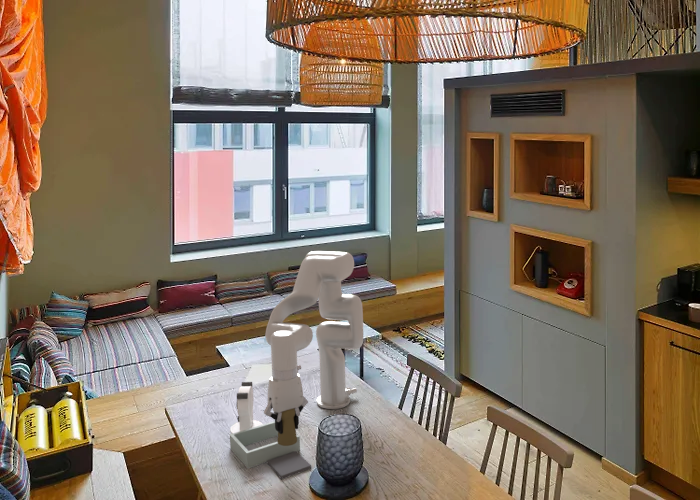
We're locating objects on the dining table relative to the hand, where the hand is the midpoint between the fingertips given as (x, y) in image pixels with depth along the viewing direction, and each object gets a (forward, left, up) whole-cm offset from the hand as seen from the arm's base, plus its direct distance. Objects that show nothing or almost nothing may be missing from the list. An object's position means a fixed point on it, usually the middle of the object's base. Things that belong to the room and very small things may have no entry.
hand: (287, 429), depth 175 cm
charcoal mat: (0, 0, -12) cm, 12 cm away
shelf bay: (+2, -13, -12) cm, 18 cm away
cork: (0, 0, -4) cm, 4 cm away
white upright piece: (+1, -30, -12) cm, 33 cm away
